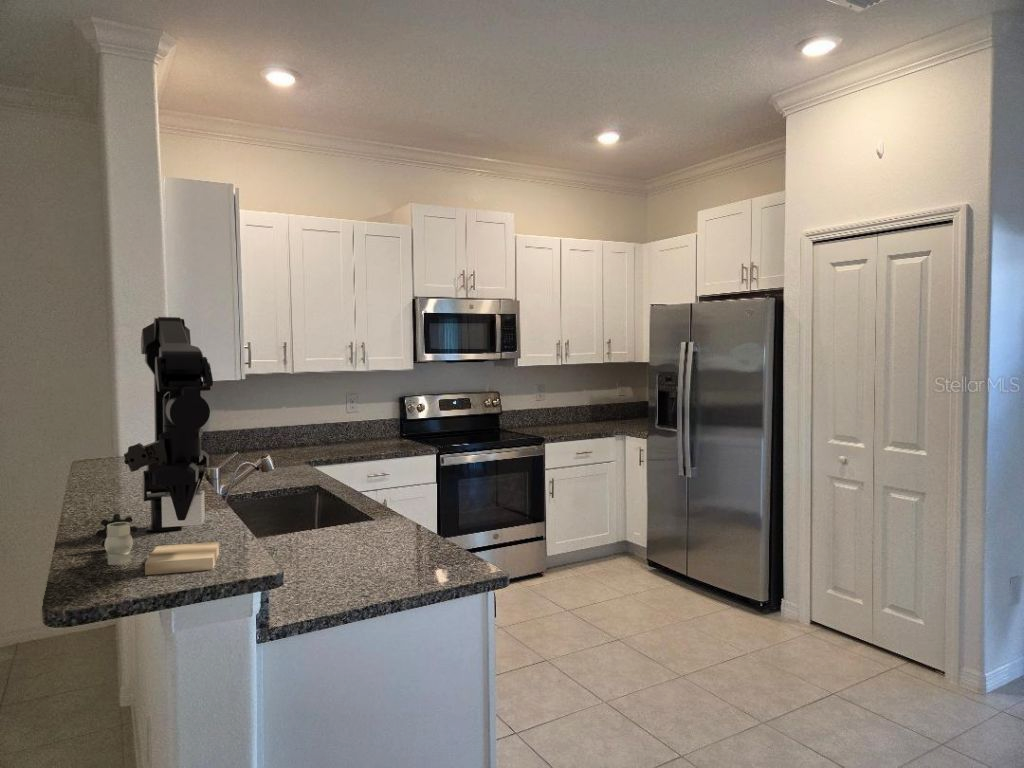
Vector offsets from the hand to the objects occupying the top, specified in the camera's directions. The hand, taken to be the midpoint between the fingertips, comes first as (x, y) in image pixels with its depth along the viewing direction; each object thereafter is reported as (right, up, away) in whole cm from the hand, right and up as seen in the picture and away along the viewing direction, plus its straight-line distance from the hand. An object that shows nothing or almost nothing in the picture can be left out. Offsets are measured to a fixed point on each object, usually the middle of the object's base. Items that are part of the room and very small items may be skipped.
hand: (183, 517), depth 117 cm
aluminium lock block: (0, -1, 0) cm, 1 cm away
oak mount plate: (0, -8, 0) cm, 8 cm away
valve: (-13, -8, +4) cm, 16 cm away
